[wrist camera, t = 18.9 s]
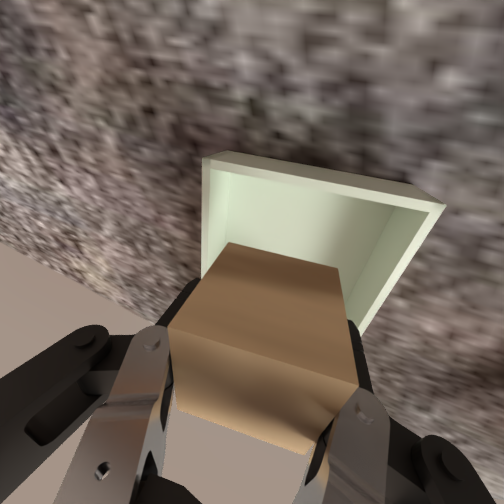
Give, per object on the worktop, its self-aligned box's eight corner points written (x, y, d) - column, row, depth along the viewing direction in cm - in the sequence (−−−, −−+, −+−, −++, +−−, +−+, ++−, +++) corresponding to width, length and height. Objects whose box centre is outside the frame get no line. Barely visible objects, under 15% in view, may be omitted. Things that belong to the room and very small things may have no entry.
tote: (227, 150, 19) (202, 157, 14) (413, 184, 17) (446, 205, 12) (216, 305, 29) (200, 335, 25) (330, 338, 27) (334, 377, 23)
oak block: (228, 241, 10) (167, 326, 6) (338, 268, 9) (359, 385, 5) (222, 315, 13) (177, 409, 8) (306, 339, 12) (304, 455, 8)
